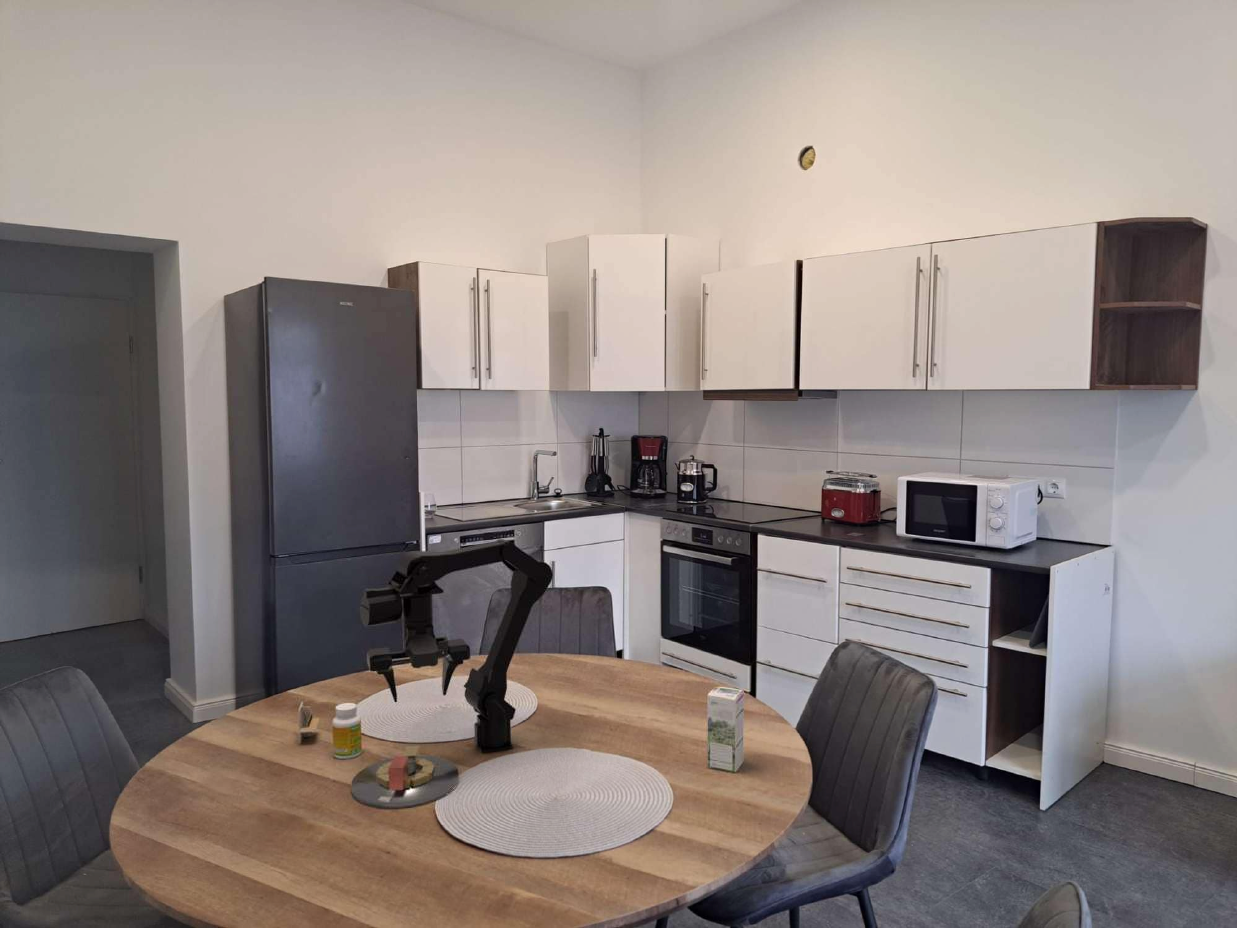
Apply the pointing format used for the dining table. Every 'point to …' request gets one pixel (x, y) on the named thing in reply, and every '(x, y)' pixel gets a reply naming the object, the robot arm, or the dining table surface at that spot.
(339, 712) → the supplement bottle
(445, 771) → the cap plate
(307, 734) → the architectural model
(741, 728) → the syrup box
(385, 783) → the colourful block cluster
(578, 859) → the dining table surface
